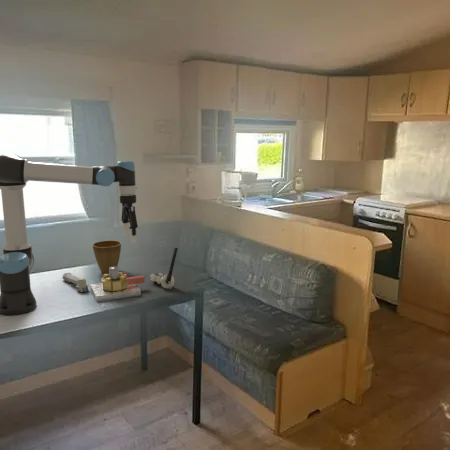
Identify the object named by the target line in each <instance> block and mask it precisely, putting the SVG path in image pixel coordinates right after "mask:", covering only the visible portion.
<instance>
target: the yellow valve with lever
mask: <svg viewBox="0 0 450 450" xmlns="http://www.w3.org/2000/svg"><path fill="white" fill-rule="evenodd" d="M100 283H101V286H102V289H103V290H107V291H112V290H113V291H117V290H122V289H125V288H127V287H128V285H133V284H136V285H138V284H145V283H146V280H145V276H144V275H139V276H138V275H137V276H130V277H129V276H128V274H127V273H124V272H123V271H122V272H120V271H119V280H117V281H112V278H110V276H109V274H102V277H101V279H100Z"/></svg>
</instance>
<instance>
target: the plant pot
mask: <svg viewBox="0 0 450 450" xmlns="http://www.w3.org/2000/svg"><path fill="white" fill-rule="evenodd" d="M92 248H93V249H92V250H93V254H94V257H95V260H96V263H97V266H98V268H99V270H100V272H101V274H102V275H104V274H109V268H110V267H114V266H116V267H119V262H120V258H121V250H122V242H121V241H120V240H114V239H113V240H109V239H108V240H101V241H96V242H94V243H92Z"/></svg>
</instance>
